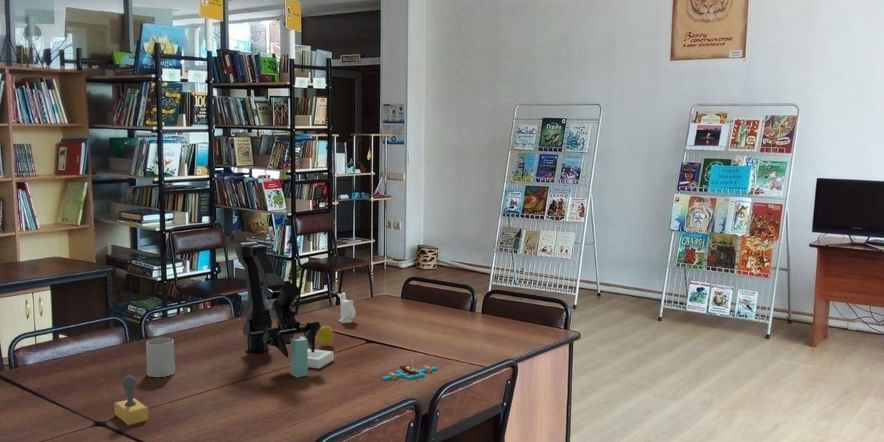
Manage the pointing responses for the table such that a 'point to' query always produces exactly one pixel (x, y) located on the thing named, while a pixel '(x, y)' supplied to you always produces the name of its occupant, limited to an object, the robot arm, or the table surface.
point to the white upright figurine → (346, 309)
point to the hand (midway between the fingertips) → (300, 354)
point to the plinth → (319, 358)
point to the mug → (160, 357)
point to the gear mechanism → (409, 372)
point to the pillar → (299, 357)
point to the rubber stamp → (130, 404)
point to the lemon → (325, 335)
